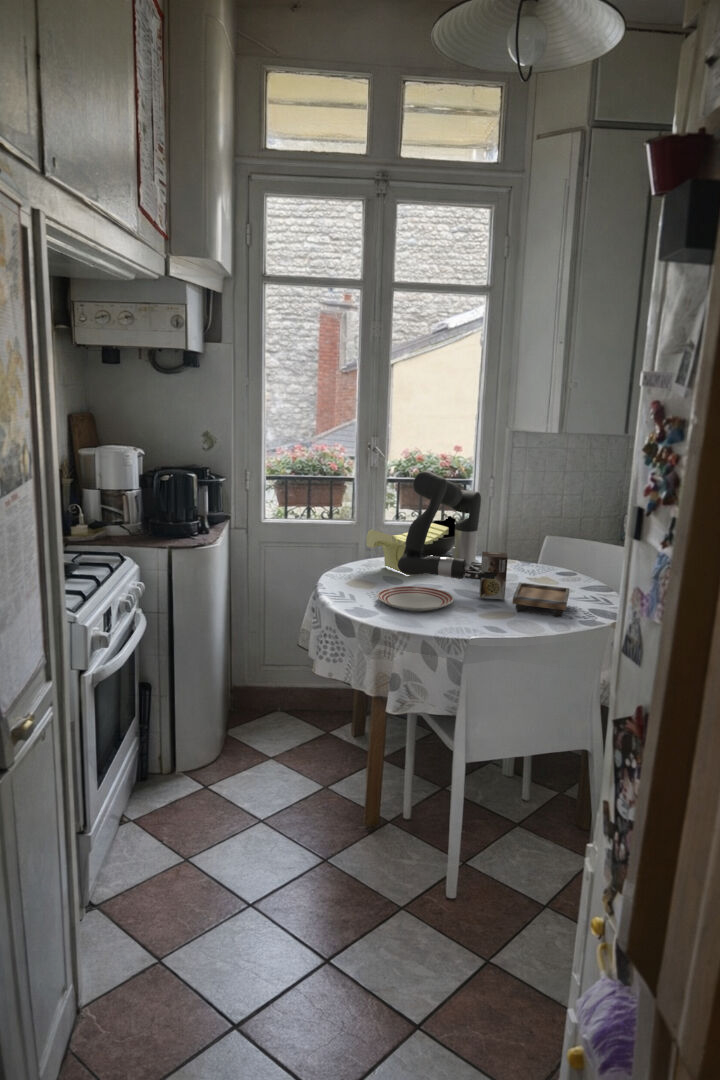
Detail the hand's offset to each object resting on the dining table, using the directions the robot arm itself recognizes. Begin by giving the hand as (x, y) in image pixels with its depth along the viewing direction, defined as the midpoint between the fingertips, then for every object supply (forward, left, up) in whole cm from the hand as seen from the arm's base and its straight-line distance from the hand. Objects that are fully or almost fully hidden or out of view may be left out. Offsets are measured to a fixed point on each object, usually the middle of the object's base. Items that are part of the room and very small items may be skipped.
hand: (496, 573), depth 291 cm
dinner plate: (-26, -16, -11) cm, 32 cm away
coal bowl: (-35, +54, -10) cm, 65 cm away
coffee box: (-1, 0, -9) cm, 9 cm away
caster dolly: (+17, -3, -10) cm, 20 cm away
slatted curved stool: (-40, +26, -10) cm, 49 cm away
